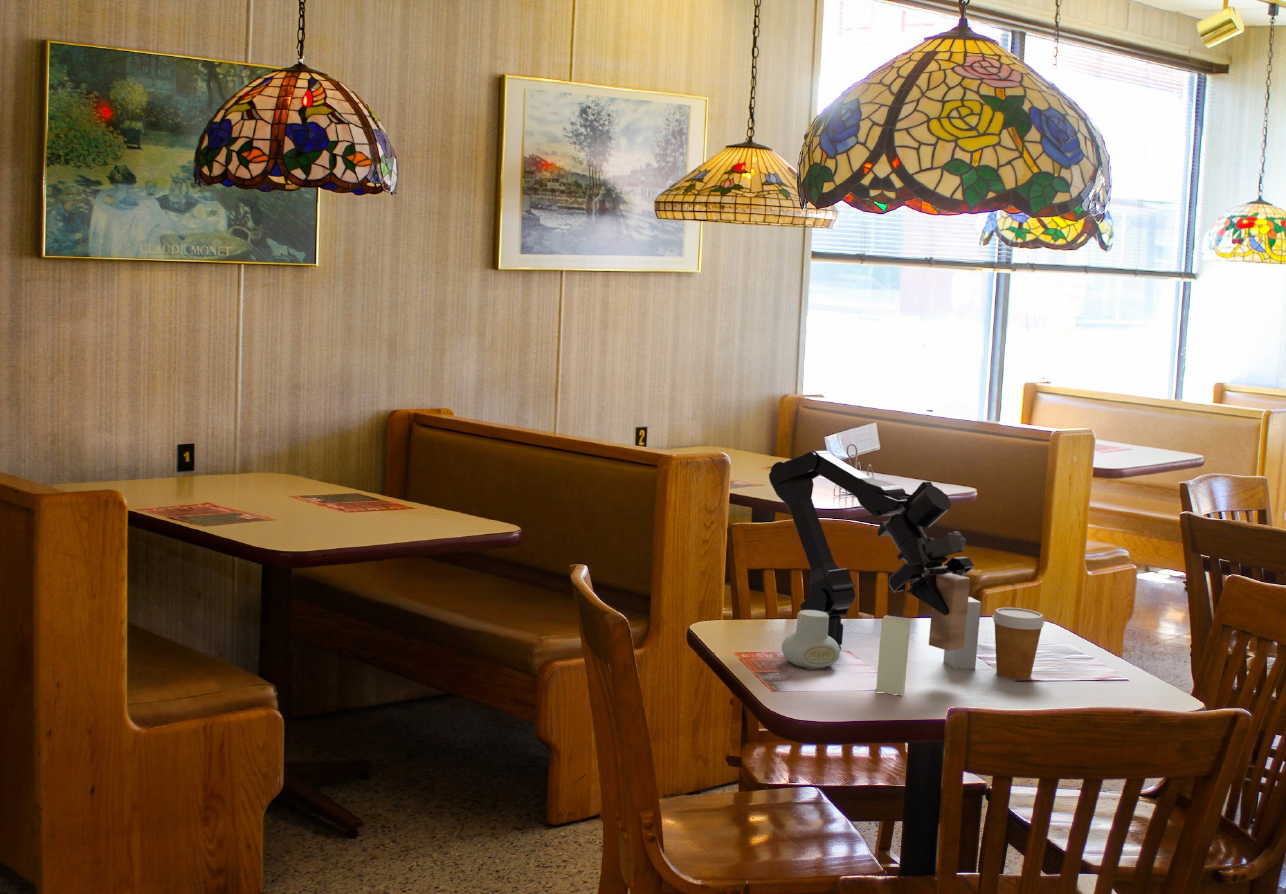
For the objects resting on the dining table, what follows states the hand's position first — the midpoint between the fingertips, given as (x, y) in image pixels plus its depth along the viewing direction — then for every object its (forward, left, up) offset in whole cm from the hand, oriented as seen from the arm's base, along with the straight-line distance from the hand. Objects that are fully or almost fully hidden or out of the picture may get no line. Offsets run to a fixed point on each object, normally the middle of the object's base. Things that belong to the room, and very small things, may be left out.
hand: (955, 612), depth 229 cm
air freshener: (-24, +9, -14) cm, 29 cm away
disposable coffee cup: (+15, +9, -14) cm, 22 cm away
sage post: (-12, -6, -13) cm, 19 cm away
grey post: (+6, +14, -13) cm, 21 cm away
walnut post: (-1, +1, -7) cm, 7 cm away
